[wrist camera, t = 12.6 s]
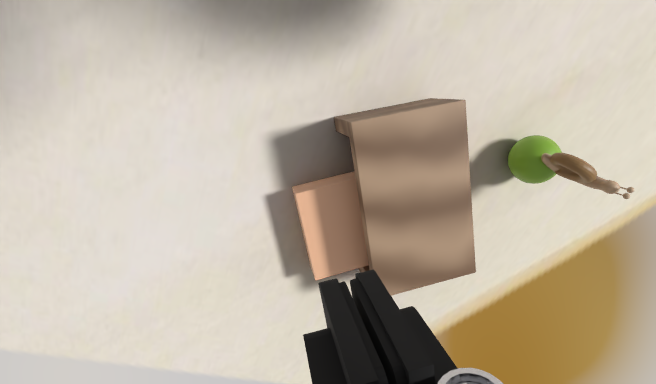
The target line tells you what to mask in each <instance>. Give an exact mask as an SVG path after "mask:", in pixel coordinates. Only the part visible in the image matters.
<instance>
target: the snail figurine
mask: <svg viewBox="0 0 656 384" xmlns="http://www.w3.org/2000/svg"><path fill="white" fill-rule="evenodd" d="M508 165H509V168H510V171H511V172H512V174H513V175H514V176H515V177H516V178H518V179H519V180H521V181H523V182H526V183H533V184H535V183H542V182H545V181H547V180H549V179H551V178H552V177H554V176H555V175H556V174H558V175H560V176H562V177H564V178H567V179H570V180H573V181H576V182H578V183H580V184H583V185H585V186H588V187H591V188H595V189H599V190H602V191H604V192H606V193H609V194H614V193H616V194H619V193H617V192H618V191H619V189H620V188H623V187H620V186H619V184H618V183H617V182H615V181H611V180H605V179H603V178H600V177H598V176H597V172H596V170H595V169H594V168H593V167H592V166H591V165H590V164H588V163H587V162H585V161H584V160H582V159H580V158H578V157H575V156H572V155H569V154H565V153H562V152H561V150H560V148H559V146H558V145H557V144H556V143H555V142H554V141H553V140H551V139H549V138H547V137H544V136H529V137H525V138H523V139H521V140H519V141H518V142H517V143H516V144H515V145H514V146H513V147H512V148H511V150H510V152H509V156H508ZM623 189H626V188H623ZM627 192H629V193H632V192H634V188H632V187H629V188H627ZM619 195H622V194H619ZM622 196H623V198H625V199H628V198H629V197H630V195H629V194H628V193H625V194H623V195H622Z"/></svg>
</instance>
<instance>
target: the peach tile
mask: <svg viewBox="0 0 656 384" xmlns="http://www.w3.org/2000/svg"><path fill="white" fill-rule="evenodd" d="M292 189H293V194H294V198H295V202H296V206H297V211H298V215H299V219H300V223H301V228H302V232H303V236H304V240H305V244H306V249H307V253H308V257H309V261H310V266H311V269H312V272H313V275H314V278H315V280H319V279H323V278H326V277H330V276H333V275H337V274H340V273H344V272H347V271H351V270H354V269H358V268H361V267H365V266H368V265H369V263H368V256H367V250H366V243H365V237H364V230H363V224H362V217H361V210H360V204H359V197H358V191H357V184H356V178H355V171H353V172H349V173H345V174H341V175H337V176H333V177H329V178H325V179H321V180H317V181H313V182H309V183H305V184H301V185H296V186H292Z"/></svg>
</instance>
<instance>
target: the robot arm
mask: <svg viewBox="0 0 656 384" xmlns="http://www.w3.org/2000/svg"><path fill="white" fill-rule="evenodd" d="M350 285H351V291H352V296H351V294H350V291H349V289H348V287H347V285H346V283H345V282H341V283H339V282H338V280H337V279H332V280H328V281H324V282H320V283H319V288H320V293H321V298H322V303H323V308H324V313H325V318H326V323H327V329H323V330H320V331H316V332H312V333H308V334H304V335H303V336H304V341H305V347H306V352H307V357H308V363H309V368H310V373H311V379H312V384H503V383H502V382H501V381H500V380H498V379H497V378H496V377H494V376H493V375H492V374H489V373H487V372H485V371H482V370H479V369H474V368H459V369H458V368H457V367H456V366H455V364H454V363H453V361H452V360H451V358H450V357H449V356H448V354H447V353H446V351H445V350H444V348H443V347H442V346H441V344H440V343H439V341H438V340H437V339H436V337H435V336H434V334H433V333H432V331H431V330H430V328H429V327H428V326H427V324H426V323H425V321H424V320H423V318H422V317H421V316H420V314H419V313H418V311H417V310H416V309H415V308H414V307H412V306H411V307H407V308H403V309H400V310H399V308H398V306H397V305H396V303H395V302H394V300H393V298H392V297H391V295H390V294H389V292H388V290H387V289H386V287H385V286H384V284H383V283H382V281H381V279H380V278H379V276H378V275H377V273H376V271H375V270H369V271H365V272H361V273H357V274H356V279H353V280H350ZM352 297H353V298H352Z"/></svg>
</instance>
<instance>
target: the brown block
mask: <svg viewBox="0 0 656 384" xmlns="http://www.w3.org/2000/svg"><path fill="white" fill-rule="evenodd" d="M334 122H335V128H336V131H337V132H339V133H341V134H343V135H345V136H348V137H349V138H350V145H351V151H352V158H353V164H354V171H355V178H356V184H357V191H358V197H359V204H360V210H361V217H362V224H363V230H364V237H365V243H366V250H367V256H368V263H369V265H368V266H365V267H361V268H358V269H359V270H360V272H365V271H369V270H375V271H376V273H377V275H378V276H379V278H380V279H381V281H382V283H383V284H384V286H385V287H386V289H387V290H388V292H389V294H390V295H395V294H398V293H402V292H405V291H409V290H413V289H416V288H420V287H424V286H427V285H431V284H435V283H438V282H442V281H446V280H449V279H453V278H457V277H460V276H464V275H468V274H471V273H475V272H476V268H475V251H474V235H473V218H472V202H471V185H470V169H469V152H468V135H467V119H466V102H465V100H455V99H432V98H430V99H425V100H420V101H414V102H409V103H404V104H399V105H394V106H389V107H383V108H378V109H373V110H368V111H363V112H358V113H352V114H347V115H342V116H337V117H334Z"/></svg>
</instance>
